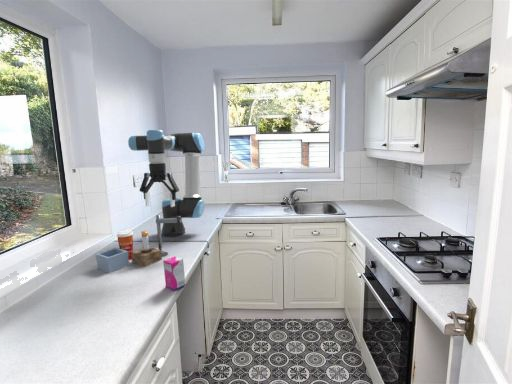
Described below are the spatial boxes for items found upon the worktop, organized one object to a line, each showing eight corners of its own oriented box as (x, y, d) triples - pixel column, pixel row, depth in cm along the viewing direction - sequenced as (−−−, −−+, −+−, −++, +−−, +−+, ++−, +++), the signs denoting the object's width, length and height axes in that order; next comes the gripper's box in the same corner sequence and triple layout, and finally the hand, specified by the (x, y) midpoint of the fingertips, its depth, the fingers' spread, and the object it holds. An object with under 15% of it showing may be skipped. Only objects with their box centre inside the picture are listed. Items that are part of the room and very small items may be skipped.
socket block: (149, 255, 154) (148, 246, 154) (161, 259, 149) (161, 249, 148) (132, 262, 146) (131, 252, 145) (144, 266, 141) (144, 256, 140)
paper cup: (117, 262, 146) (115, 235, 144) (120, 256, 154) (117, 230, 152) (134, 260, 148) (132, 233, 146) (136, 255, 156) (134, 229, 154)
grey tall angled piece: (158, 253, 153) (155, 216, 150) (159, 251, 155) (156, 214, 152) (182, 252, 153) (180, 215, 150) (183, 250, 156) (181, 214, 153)
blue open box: (117, 261, 148) (115, 247, 147) (129, 265, 143) (127, 251, 141) (97, 268, 140) (95, 254, 139) (109, 272, 134) (107, 258, 133)
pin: (147, 259, 150) (145, 230, 147) (151, 260, 148) (149, 231, 146) (142, 261, 147) (140, 232, 145) (146, 262, 145) (143, 233, 143)
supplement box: (177, 281, 124) (175, 255, 122) (185, 285, 120) (184, 258, 118) (165, 286, 120) (162, 260, 118) (173, 291, 116) (171, 263, 114)
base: (161, 252, 158) (161, 250, 158) (168, 254, 155) (167, 252, 155) (153, 255, 154) (153, 253, 154) (160, 257, 151) (160, 255, 151)
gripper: (129, 163, 141) (133, 207, 145) (176, 163, 135) (179, 208, 139) (139, 162, 148) (142, 203, 152) (184, 162, 142) (187, 205, 146)
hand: (160, 206), depth 145 cm, fingers open, 13 cm apart
